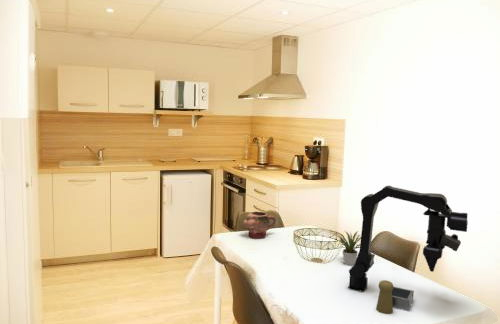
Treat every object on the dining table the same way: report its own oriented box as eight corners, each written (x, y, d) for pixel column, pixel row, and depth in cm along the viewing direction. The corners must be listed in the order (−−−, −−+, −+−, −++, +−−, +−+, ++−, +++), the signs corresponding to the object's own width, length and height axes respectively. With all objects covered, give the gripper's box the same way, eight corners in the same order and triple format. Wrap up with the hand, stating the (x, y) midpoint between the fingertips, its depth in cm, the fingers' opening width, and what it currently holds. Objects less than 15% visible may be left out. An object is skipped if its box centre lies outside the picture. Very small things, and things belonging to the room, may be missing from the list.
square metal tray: (381, 304, 158) (381, 294, 157) (386, 294, 166) (387, 285, 166) (409, 311, 153) (409, 300, 152) (413, 300, 161) (413, 290, 161)
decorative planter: (269, 231, 251) (270, 209, 249) (279, 237, 240) (280, 214, 238) (239, 235, 242) (240, 212, 241) (248, 241, 231) (249, 217, 230)
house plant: (364, 259, 207) (366, 227, 205) (369, 269, 193) (371, 235, 191) (335, 257, 208) (337, 226, 206) (338, 267, 195) (340, 234, 193)
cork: (389, 306, 156) (391, 278, 155) (395, 314, 150) (397, 285, 149) (373, 306, 156) (375, 278, 155) (379, 314, 150) (381, 285, 149)
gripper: (458, 237, 143) (455, 280, 145) (461, 225, 159) (458, 264, 161) (424, 232, 149) (421, 273, 150) (430, 221, 165) (427, 258, 167)
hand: (433, 267), depth 157 cm, fingers open, 9 cm apart
